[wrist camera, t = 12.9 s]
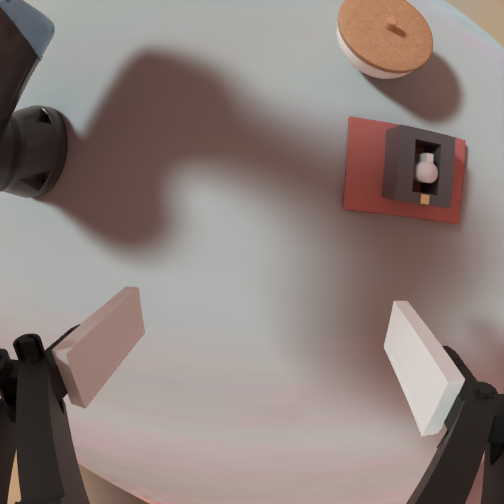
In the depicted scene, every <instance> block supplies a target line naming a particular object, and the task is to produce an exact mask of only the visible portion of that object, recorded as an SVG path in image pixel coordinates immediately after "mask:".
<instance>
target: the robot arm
mask: <svg viewBox="0 0 504 504" xmlns="http://www.w3.org/2000/svg"><path fill="white" fill-rule="evenodd" d="M54 32H55V27H54V24H53V22H52V21H51V20H50V19H49V18H47V17H46V16H45V15H44V14H42V13H41V12H40V11H38V10H37V9H35V8H34V7H32V6H31V5H29V4H28V3H26V2H25V1H23V0H0V191H3V192H7V193H10V194H14V195H17V196H21V197H28V198H29V197H35V196H40V195H43V194H45V193H46V192H48V191H49V190H50V189H51V188H52V187H53V186H54V184H55V183H56V181H57V180H58V178H59V176H60V174H61V172H62V169H63V166H64V162H65V158H66V150H67V136H66V129H65V126H64V123H63V120H62V118H61V116H60V115H59V114H58V112H57V111H55V110H54V109H52V108H50V107H46V106H39V105H36V106H30V107H27V108H24V109H21V110H18V111H15V112H14V109H15V107H16V105H17V103H18V101H19V99H20V97H21V95H22V93H23V91H24V89H25V87H26V85H27V83H28V81H29V79H30V77H31V75H32V73H33V72H34V70H35V68H36V66H37V65H38V63H39V61H41V60H42V57H43V56H42V55H43V53H44V51H45V50H46V48H47V46H48V44H49V43H50V41H51V39H52V38H53V35H54ZM144 333H145V330H144V323H143V317H142V310H141V302H140V295H139V288H137V287H127V286H126V287H125V288H124V289H123V290H121V291H120V292H119V293H118V294H116V295H115V296H114V297H113V298H112V299H110V300H109V301H108V302H107V303H106V304H104V305H103V306H102V307H101V308H100V309H98V310H97V311H96V312H95V313H94V314H92V315H91V316H90V317H89V318H88V319H87V320H85V321H84V322H83V323H82V324H81V325H80V324H79V325H77V326H75V327H73V328H71V329H70V330H68V331H67V332H66V333H65V334H64V335H62V336H61V337H60V338H59V340H57V341H56V342H54V343H53V344H52V345H51V346H50V347H49V348H47V349H46V350H45V351H44V348H43V344H42V341H41V338H40V336H39V335H37V334H25V335H22V336H20V337H18V338H17V339H16V340H15V341H14V343H13V346H14V349H15V352H16V354H17V357H18V360H12V359H10V357H9V354H8V352H7V350H5V349H0V396H1V399H0V504H7V499H8V492H9V485H10V479H11V472H12V467H13V462H14V457H15V453H16V449H17V464H18V474H19V484H20V492H21V501H20V502H15V504H90V503H89V500H88V497H87V494H86V490H85V487H84V484H83V481H82V477H81V474H80V470H79V466H78V463H77V459H76V455H75V451H74V446H73V442H72V437H71V432H70V428H69V422H68V417H67V411H66V405H65V402H64V400H63V398H64V396H65V395H66V394H68V396H69V399H70V401H71V403H72V404H74V405H77V406H80V407H83V408H86V407H87V406H88V405H89V403H90V402H91V401H92V400H93V398H94V397H95V396H96V394H97V393H98V392H99V390H100V389H101V388H102V387H103V385H104V384H105V383H106V381H107V380H108V379H109V377H110V376H111V375H112V374H113V372H114V371H115V370H116V369H117V367H118V366H119V365H120V363H121V362H122V361H123V360H124V358H125V357H126V356H127V355H128V353H129V352H130V351H131V350H132V348H133V347H134V346H135V345H136V343H137V342H138V341H139V340H140V338H141V337H142V336H143V335H144ZM384 349H385V351H386V353H387V356H388V358H389V360H390V362H391V364H392V367H393V369H394V371H395V373H396V375H397V378H398V380H399V382H400V385H401V387H402V389H403V392H404V394H405V396H406V399H407V401H408V403H409V406H410V408H411V411H412V413H413V415H414V418H415V420H416V423H417V425H418V428H419V431H420V433H421V436H427V435H433V434H438V433H439V431H440V430H441V428H442V426H443V424H444V423H445V425H446V427H447V431H446V433H445V435H444V437H443V438H442V440H441V442H440V443H439V445H438V447H437V448H438V449H437V451H436V453H435V455H434V457H433V459H432V461H431V463H430V465H429V466H428V468H427V470H426V472H425V474H424V475H423V477H422V479H421V481H420V482H419V484H418V486H417V487H416V489H415V491H414V492H413V494H412V495H411V497H410V499H409V500H408V502H407V503H406V504H465V502H466V499H467V497H468V495H469V493H470V490H471V488H472V485H473V483H474V480H475V477H476V474H477V472H478V469H479V466H480V463H481V460H482V457H483V454H484V451H485V458H484V476H483V488H482V497H481V504H504V394H498V392H497V391H496V389H495V388H494V387H493V386H492V385H490V384H488V383H485V382H477V380H476V379H475V377H474V376H473V375H472V373H471V372H470V370H469V369H468V368H467V366H466V365H465V364H464V362H463V361H462V360H461V358H460V357H459V356H458V354H457V353H456V352H455V351H454V350H452V349H451V348H450V347H448V346H441V344H440V343H439V342H438V340H437V339H436V338H435V336H434V335H433V334H432V332H431V331H430V330H429V328H428V327H427V326H426V324H425V323H424V322H423V320H422V319H421V318H420V317H419V315H418V314H417V313H416V311H415V310H414V309H413V308H412V306H411V305H410V304H409V303H408V301H394V302H393V307H392V312H391V317H390V321H389V326H388V330H387V335H386V339H385V343H384Z"/></svg>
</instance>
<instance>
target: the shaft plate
mask: <svg viewBox="0 0 504 504" xmlns="http://www.w3.org/2000/svg"><path fill="white" fill-rule="evenodd" d="M395 126H397V124H392V123H387V122H381V121H375V120H369V119H362V118H355V117H349V118H348V139H347V157H346V172H345V185H344V197H343V209H346V210H356V211H365V212H374V213H382V214H390V215H398V216H406V217H413V218H421V219H428V220H435V221H442V222H448V223H455V224H458V223H459V216H460V208H461V199H462V189H463V178H464V163H465V140H462V139H458V138H455V162H454V177H453V188H452V198H451V207H450V209H447V208H441V207H435V206H429V205H422V204H416V203H409V202H402V201H395V200H392V199H388V198H385V197H382V187H383V175H384V161H385V143H386V130H388V129H390V128H393V127H395ZM437 176H438V170H437V168H436V166H435V165H434V164H433V154H430V153H423V147H420V146H416V145H415V161H414V175H413V187H412V191H417V192H420V189H421V182H426V183H432V182H434V181H435V180H436V179H437Z"/></svg>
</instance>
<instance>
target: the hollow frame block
mask: <svg viewBox="0 0 504 504" xmlns="http://www.w3.org/2000/svg"><path fill="white" fill-rule="evenodd" d="M415 145H416V146H420V147H423V153H430V154H433V164H434V165H435V166H436V168H437V170H438V176H437V179H436V180H435V181H434V182H432V183H426V182H421V189H420V192H417V191H412V187H413V175H414V161H415ZM454 162H455V137H452V136H448V135H444V134H440V133H436V132H432V131H427V130H423V129H419V128H414V127H409V126H404V125H397V126H395V127H393V128H390V129H388V130H386V143H385V161H384V175H383V187H382V197H385V198H388V199H392V200H395V201H402V202H409V203H416V204H422V205H429V206H435V207H441V208H447V209H450V207H451V198H452V188H453V177H454Z"/></svg>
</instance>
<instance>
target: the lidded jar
mask: <svg viewBox="0 0 504 504" xmlns="http://www.w3.org/2000/svg"><path fill="white" fill-rule="evenodd" d="M337 39H338V43H339V46H340V49H341V51H342V53H343V54H344V56H345V57H346V59H347V60H348V61H349V62H350V63H351V64H352V65H353V66H354V67H355V68H357V69H358V70H359V71H361V72H363V73H365V74H367V75H369V76H372V77H376V78H381V79H393V78H399V77H402V76H405V75H407V74H409V73H411V72H413V71H415V70H417V69H419V68H420V67H421V66H423V65H424V64H425V63H426V62H427V61H428V59H429V58H430V56H431V54H432V50H433V38H432V33H431V30H430V28H429V26H428V24H427V22H426V20H425V19H424V17H423V16H422V15H421V14H420V12H419V11H418V10H417V9H416V8H415V7H414V6H412V5H411V4H410V3H408V2H407V1H405V0H345V1H344V2H343V4H342V5H341V8H340V10H339V14H338V22H337Z"/></svg>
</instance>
